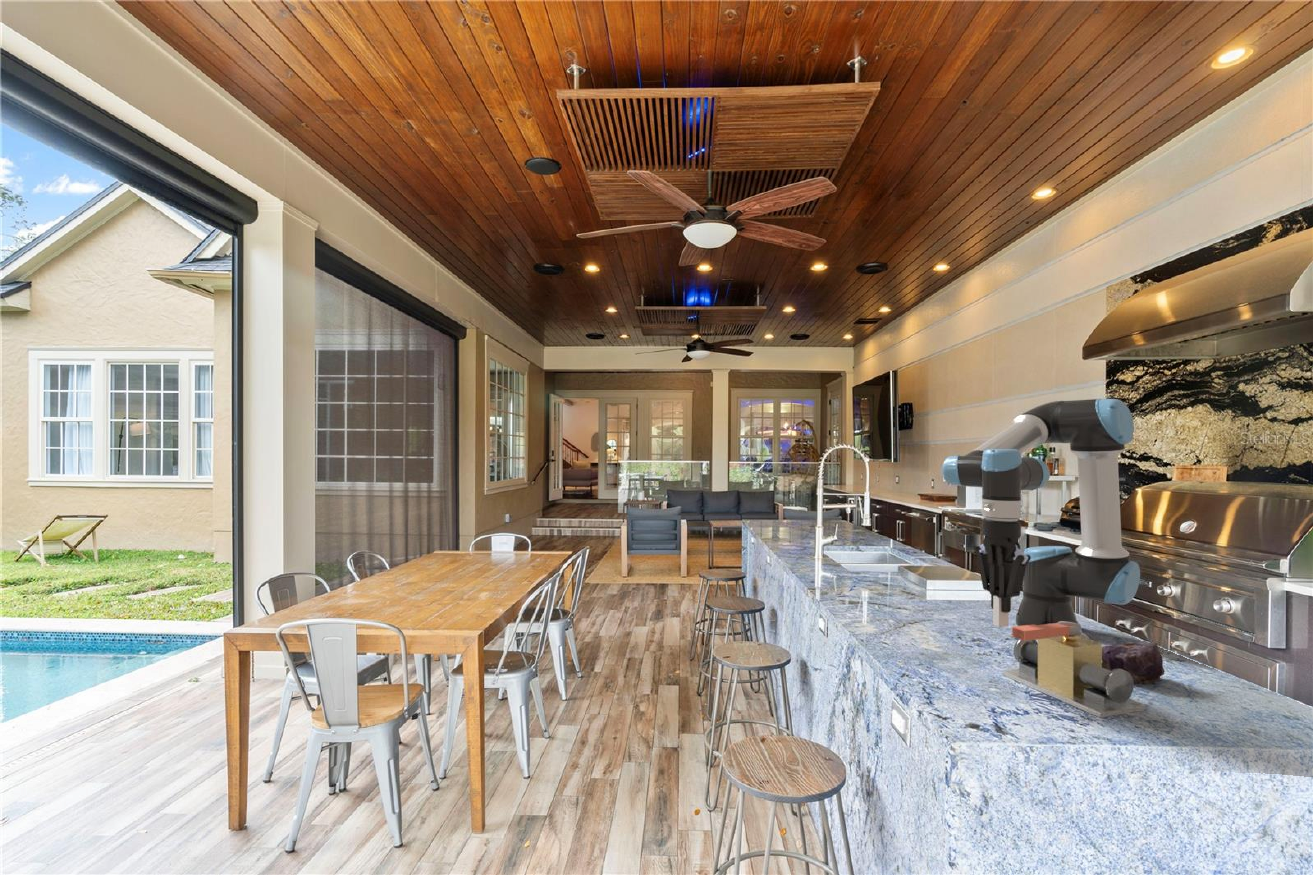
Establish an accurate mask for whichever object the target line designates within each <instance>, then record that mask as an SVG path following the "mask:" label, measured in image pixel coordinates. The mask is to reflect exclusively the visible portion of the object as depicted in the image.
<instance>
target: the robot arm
mask: <svg viewBox="0 0 1313 875" xmlns="http://www.w3.org/2000/svg"><path fill="white" fill-rule="evenodd" d="M1134 425H1135V424H1134V418H1133V415H1132V413H1131V410H1130V409H1129V407H1128V406H1127V405H1126V403H1125V402H1124V401H1122V400H1121V399H1115V398H1091V399H1077V400H1056V401H1051V402H1047V403H1043V404H1040V405H1038V406H1035V407H1033V408H1031V409H1029V410H1027V411H1025V412H1023V413H1022V414H1020V415H1018V416H1017V417H1015V418H1014V419H1013V420H1012V422H1011V423H1010V426H1008V427H1006V428H1005V429H1003V430H1002V431H1001V432H999V433H998V434H996V435H995V436H993V437H991V438H990V439H988V440H987V441H985V442H984V443H983V444H980V445H978V447H976V448H974V449H973V450H971V451H970V452H969V453H967V454H965V455H960V454H959V455H951V456H948V457H946V458H945V460H944V461H943V463H942V468H941V469H942V470H941V472H942V477H943V480H944V481H945V483H947V484H948V485H951V486H957V487H958V486H959V487H960V488H961V487H969V488H981V490H982V495H981V516H983V517H984V518H982V520H981V534H982V535H983V536H984V538H983V540H982V543H981V544H979V545H974V546H973V550H974V552H975V554H976V557H977V562H978V568H979V574H980V578H981V585H982V588H983V590H984V591H987V592H989V594H990V596H991V597H990V607H991V609H992V617H993V618H992V619H993V621H992V626H993V627H997V628H1003V627H1009V615H1010V614H1009V613H1011V611H1012V609H1011V608H1012V598H1014V597H1015V598H1016V597H1019V596H1020V595H1021V591H1022V599H1021V602H1020V603H1019V606H1018V610H1017V612H1016V615H1015V624H1016V626H1023V625H1032V624H1035V625H1044V624H1053V623H1058V622H1059V621H1067V622H1073V623H1077V624H1079V621H1078V620H1077V617H1076V614H1075V611H1074V608H1073V605H1072V597H1076V598H1080V599H1081V598H1082V599H1086V600H1092V601H1096V602H1102V603H1104V604H1114V605H1120V606H1124V605H1127V604H1129V603H1131V601H1132V600H1133V599H1134V597H1135V596H1136V594H1137V592H1138V588H1139V585H1140V581H1141V580H1140V579H1141V569H1140V565H1139V563H1138V562H1135V561H1134V560H1133V561H1132V560H1130V552H1129V551H1128V550H1127V549H1125V547H1123V546H1122V526H1121V525H1122V522H1121V500H1120V498H1121V497H1120V480H1119V475H1120V474H1119V458H1118V457H1119V456H1120V454H1122V453H1123V452H1124V451H1125V450H1126V448H1125V446H1126V445H1127V444H1130V443H1131V442H1132V441H1133V439H1134V433H1135V426H1134ZM1045 444H1069V446H1070V452H1071V453H1072V454H1073V455H1075V456H1076V457H1077V468H1078V469H1077V470H1078V471H1077V473H1078V491H1079V511H1080V515H1079V516H1080V532H1081V533H1080V535H1081V537H1080V538H1081V544H1080V545H1079V546H1078V547H1076V548H1075V553H1073V550H1072V548H1071V547H1069V546H1065V545H1046V546H1045V545H1044V546H1043V545H1042V546H1031V547H1027V548H1025V549H1024V551H1022V550H1021V545H1020V543H1019V539H1020V538H1021V536H1022V522H1021V521H1020V520H1019V519H1021V518H1022V491H1034V490H1037V489H1041V488H1043V487H1045V486H1046V485H1047V483H1048V482H1049V480H1050V479H1051V478H1050V477H1051V470H1050V468H1049V465H1048V464H1047V463H1046V462H1045V461H1044V460H1042V459H1040V458H1036V457H1033V456H1025V457H1022V455H1023V454H1024V453H1025V452H1027V451H1028V450H1029V449H1033V448H1038V447H1040V446H1043V445H1045Z"/></svg>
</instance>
